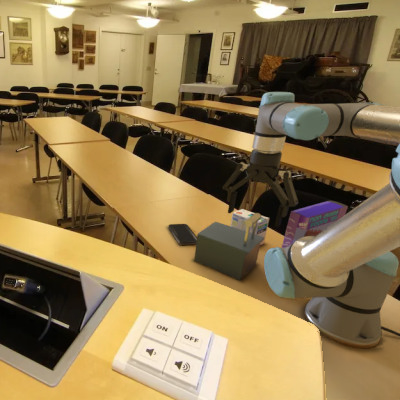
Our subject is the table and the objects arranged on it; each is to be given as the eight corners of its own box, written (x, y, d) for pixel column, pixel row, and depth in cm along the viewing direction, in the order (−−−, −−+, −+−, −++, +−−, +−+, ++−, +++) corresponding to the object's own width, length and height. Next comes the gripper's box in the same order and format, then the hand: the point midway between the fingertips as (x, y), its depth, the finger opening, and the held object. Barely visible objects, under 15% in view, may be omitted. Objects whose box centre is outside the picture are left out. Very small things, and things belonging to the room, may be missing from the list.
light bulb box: (264, 243, 119) (270, 217, 115) (254, 249, 116) (259, 222, 112) (238, 232, 128) (242, 208, 124) (227, 237, 124) (232, 212, 120)
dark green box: (256, 264, 107) (261, 238, 104) (240, 280, 100) (245, 253, 96) (211, 247, 118) (215, 223, 114) (194, 260, 110) (197, 235, 106)
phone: (186, 223, 133) (200, 241, 120) (186, 226, 134) (199, 244, 120) (167, 224, 133) (179, 242, 119) (167, 226, 134) (179, 245, 120)
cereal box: (287, 289, 95) (308, 217, 86) (272, 280, 99) (291, 210, 90) (325, 274, 101) (348, 205, 92) (309, 266, 105) (330, 199, 96)
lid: (264, 239, 103) (270, 212, 99) (248, 254, 95) (254, 226, 92) (215, 223, 114) (218, 198, 111) (197, 235, 106) (200, 209, 103)
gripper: (323, 155, 83) (303, 227, 91) (228, 141, 100) (218, 203, 108) (315, 161, 79) (295, 236, 87) (217, 145, 96) (208, 210, 104)
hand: (252, 218), depth 98 cm, fingers open, 13 cm apart
